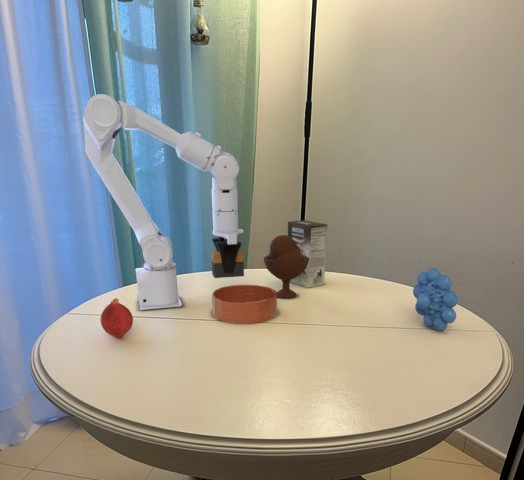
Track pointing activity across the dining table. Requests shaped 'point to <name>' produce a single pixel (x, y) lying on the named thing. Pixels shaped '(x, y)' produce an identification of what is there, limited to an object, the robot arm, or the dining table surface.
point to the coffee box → (310, 250)
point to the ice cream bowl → (285, 263)
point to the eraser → (218, 267)
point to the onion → (116, 319)
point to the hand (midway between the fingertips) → (227, 270)
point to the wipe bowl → (244, 303)
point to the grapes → (435, 299)
